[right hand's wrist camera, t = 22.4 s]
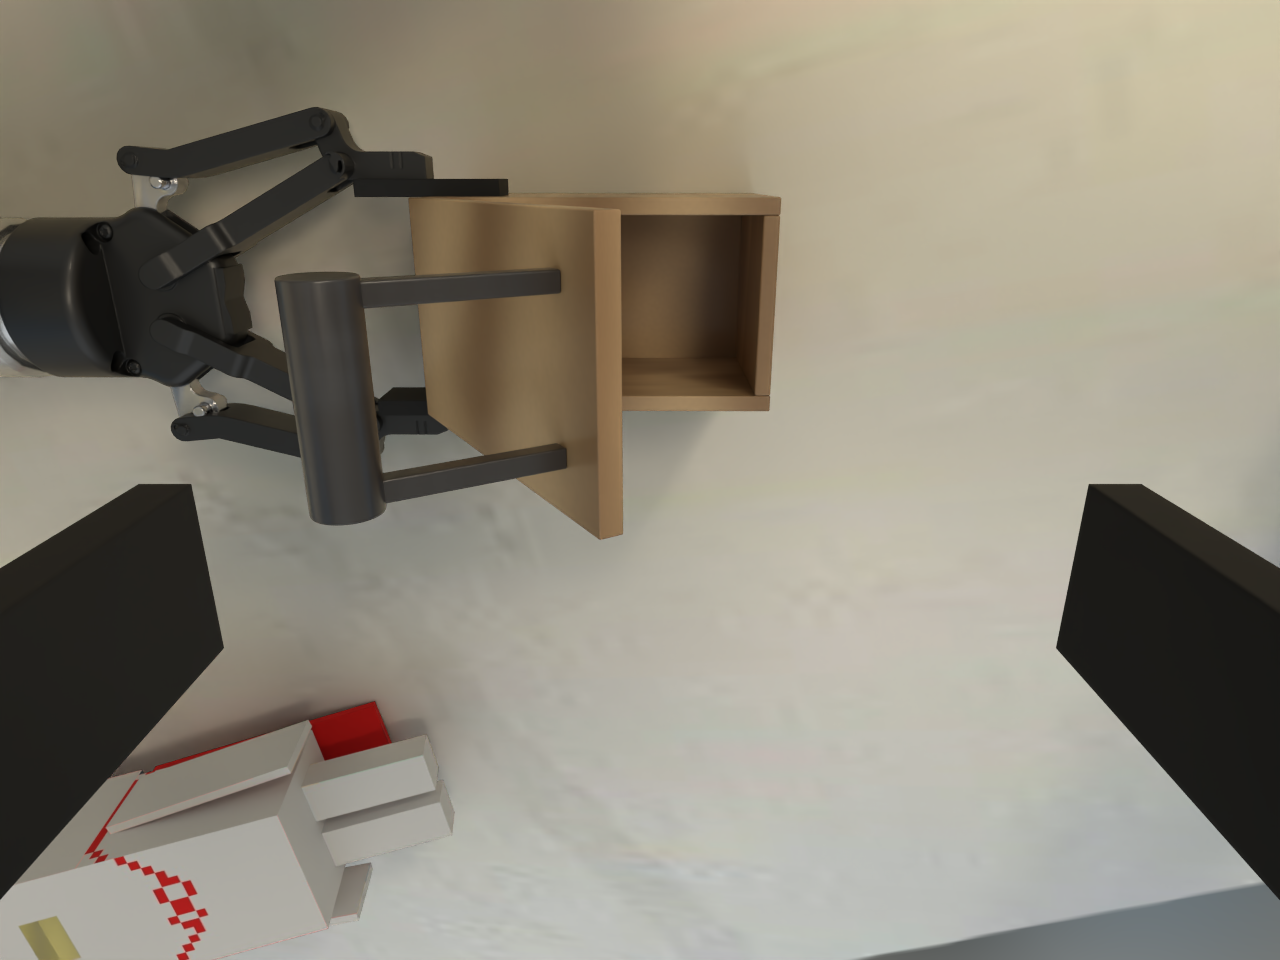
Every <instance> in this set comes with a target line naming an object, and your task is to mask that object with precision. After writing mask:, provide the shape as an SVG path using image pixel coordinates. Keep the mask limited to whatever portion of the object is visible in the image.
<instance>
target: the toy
mask: <svg viewBox="0 0 1280 960" xmlns="http://www.w3.org/2000/svg"><path fill="white" fill-rule="evenodd" d="M438 770H439V767H438V764H437V762H436V759H435V756H434V753H433V750H432V748H431V745H430V742H429V739H428V736H427V734H425V735H421V736H418V737H414V738H410V739H406V740H402V741H398V742H395V743H392V742H391V740H390V737H389V735H388V732H387V730H386V727H385V725H384V723H383V720H382V718H381V715H380V713H379V710H378V708H377V705H376V703H375V701H374V702H371V703H368V704H364V705H361V706H358V707H354V708H351V709H347V710H344V711H341V712H337V713H334V714H331V715H327V716H324V717H320V718H317V719H314V720H310V721H309V720H306V721H303V722H300V723H297V724H294V725H291V726H289V727H286V728H283V729H280V730H277V731H273V732H270V733H266V734H263V735H260V736H256V737H253V738H250V739H246V740H243V741H240V742H236V743H233V744H229V745H226V746H223V747H219V748H216V749H213V750H209V751H206V752H202V753H199V754H196V755H192V756H189V757H186V758H182V759H179V760H175V761H172V762H169V763H165V764H162V765H159V766H156V767H155V768H154V770H153V771H152V772H148V773H144V772H143V770H139V771H135V772H131V773H127V774H124V775H120V776H116V777H112V778H108V779H107V780H106V781H105V783H104V784H103V785H102V786H101V787H100V788H99V789H98V790H97V792H96V793H95V794H94V795H93V796H92V797H91V798H90V799H89V801H88V802H87V803H86V804H85V805H84V806H83V807H82V808H81V810H80V811H79V812H78V813H77V814H76V815H75V816H74V817H73V819H72V820H71V821H70V822H69V823H68V824H67V825H66V826H65V828H64V829H63V830H62V831H61V832H60V833H59V834H58V836H57V837H56V838H55V839H54V840H53V841H52V842H51V843H50V845H49V846H48V847H47V848H46V849H45V850H44V851H43V852H42V854H41V855H40V856H39V857H38V858H37V859H36V860H35V861H34V863H33V864H32V865H31V866H30V867H29V868H28V869H27V870H26V872H25V873H24V874H23V875H22V876H21V877H20V878H19V879H18V881H17V882H16V883H15V884H14V885H13V886H12V887H11V888H10V890H9V891H8V892H7V893H6V894H5V895H4V896H3V897H2V899H1V900H0V960H215V959H219V958H223V957H226V956H230V955H233V954H237V953H241V952H244V951H248V950H252V949H255V948H259V947H263V946H266V945H270V944H274V943H277V942H281V941H284V940H288V939H292V938H295V937H299V936H303V935H306V934H310V933H314V932H317V931H321V930H325V929H328V928H329V926H332V925H337V924H342V923H348V922H353V921H358V920H359V918H360V914H361V911H362V907H363V903H364V900H365V896H366V892H367V889H368V885H369V881H370V878H371V874H372V870H373V868H372V864H371V863H366V864H361V865H355V866H350V867H345V865H346V864H347V863H351V862H355V861H358V860H362V859H366V858H369V857H373V856H377V855H381V854H384V853H388V852H392V851H395V850H399V849H403V848H406V847H410V846H414V845H418V844H421V843H425V842H429V841H432V840H436V839H440V838H444V837H447V836H451V835H452V830H453V821H454V813H455V812H454V809H453V806H452V804H451V801H450V798H449V795H448V792H447V790H446V787H445V784H444V781H443V780H440V781H437V776H438Z"/></svg>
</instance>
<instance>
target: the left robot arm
mask: <svg viewBox="0 0 1280 960" xmlns="http://www.w3.org/2000/svg"><path fill="white" fill-rule="evenodd" d="M315 146H318V148H319V150H320V152H321V154H322V156H323V157H322V158H320V159H319V160H317V161H316V162H314V163H312V164H311V165H309V166H307V167H306V168H304V169H303V170H301V171H299V172H298V173H296V174H295V175H293V176H291V177H290V178H288V179H286V180H285V181H283V182H282V183H280V184H278V185H277V186H275V187H274V188H272V189H270V190H269V191H267V192H266V193H264V194H262V195H261V196H259V197H257V198H256V199H254V200H253V201H251V202H249V203H248V204H246V205H245V206H243V207H241V208H240V209H238V210H236V211H235V212H233V213H232V214H230V215H228V216H227V217H225V218H224V219H222V220H220V221H218V222H216V223H214V224H211V225H209V226H207V227H205V228H203V229H201V230H198V229H197V228H195V227H194V226H192V225H191V224H189V223H188V222H186V221H185V220H183V219H182V218H180V217H179V216H177V215H176V214H174V213H173V212H171V211H170V210H168V209H167V203H168V201H169V199H170V198H171V197H173V196H177V195H181V194H183V193H184V192H185V191H186V190H187V187H188V185H189V181H188V178H202V177H209V176H214V175H218V174H221V173H224V172H228V171H231V170H235V169H238V168H242V167H245V166H249V165H252V164H256V163H259V162H263V161H266V160H270V159H273V158H277V157H280V156H284V155H287V154H290V153H294V152H297V151H301V150H304V149H308V148H311V147H315ZM117 162H118V165H119V166H120V168H121V169H122V170H123V171H124V172H126V173H128V174H131V175H132V183H133V193H134V202H135V208H133V209H131V210H129V211H128V212H126V213H125V214H123V215H121V216H119V217H115V218H33V219H30V220H26V219H23V218H0V377H46V376H52V375H55V376H59V377H145V378H149V379H153V380H155V381H157V382H159V383H161V384H163V385H166V386H169V387H171V391H172V394H173V397H174V401H175V404H176V407H177V411H178V414H179V418H177V419H175V420H174V421H173V422H172V424H171V431H172V433H173V435H174V436H175V437H176V438H177V439H179V440H181V441H195V440H205V439H216V438H221V439H225V440H229V441H233V442H238V443H242V444H246V445H250V446H254V447H259V448H263V449H267V450H271V451H275V452H280V453H284V454H288V455H292V456H297V457H301V454H300V447H299V440H298V434H297V427H296V420H295V416H294V415H290V414H286V413H282V412H278V411H274V410H269V409H265V408H261V407H257V406H253V405H247V404H240V403H227V399H226V397H225V396H223V395H220V394H218V393H214V392H209V391H207V390H205V389H204V388H203V387H202V386H201V385H200V383H199V379H200V378H202V377H203V376H204V375H205V374H207V373H208V372H209V371H210V370H212V369H213V368H215V369H217V370H219V371H221V372H223V373H225V374H227V375H230V376H232V377H236V378H244V379H247V380H249V381H251V382H254V383H256V384H258V385H260V386H262V387H264V388H266V389H268V390H270V391H272V392H274V393H276V394H278V395H280V396H282V397H285V398H287V399H289V400H291V401H293V400H292V394H291V387H290V380H289V374H288V367H287V360H286V354H285V352H283V351H281V350H279V349H277V348H275V347H274V346H273V344H272V343H271V342H270V341H268V340H266V339H264V338H262V337H260V336H258V335H256V334H254V333H252V332H250V331H248V329H250V328H252V321H251V315H250V311H249V309H248V306H247V304H246V302H245V299H244V297H243V293H244V283H245V278H244V272H243V265H242V264H237V262H236V260H235V258H236V257H237V256H239V255H241V254H242V253H244V252H245V251H247V250H249V249H250V248H252V247H254V246H255V245H256V244H257V243H258V242H259V241H260V240H262V239H264V238H265V237H267V236H268V235H270V234H272V233H273V232H275V231H277V230H278V229H280V228H282V227H283V226H285V225H287V224H288V223H290V222H291V221H293V220H295V219H296V218H298V217H300V216H301V215H303V214H305V213H306V212H308V211H310V210H311V209H313V208H314V207H316V206H318V205H319V204H321V203H323V202H324V201H326V200H328V199H329V198H331V197H333V196H334V195H336V194H337V193H339V192H341V191H342V190H344V189H346V188H347V187H349V186H351V185H352V184H353V186H354V195H355V197H430V196H506V195H509V193H508V179H434V175H433V162H432V157H430V156H428V155H426V154H423V153H420V152H365V151H363V150H361V149H360V148H359V147H358V146H357V145H356V144H355V142H354V141H353V138H352V136H351V134H350V132H349V123H348V120H347V118H346V117H345V116H344V115H343V114H342V113H339V112H337V111H332V110H328V109H324V108H319V107H312V108H308V109H305V110H302V111H298V112H295V113H291V114H288V115H284V116H281V117H278V118H274V119H271V120H267V121H264V122H261V123H257V124H254V125H250V126H247V127H243V128H240V129H237V130H233V131H230V132H226V133H223V134H219V135H216V136H213V137H209V138H206V139H202V140H199V141H196V142H192V143H189V144H185V145H182V146H178V147H175V148H172V149H165V148H153V147H138V146H124V147H122V148H121V149H119V151H118V153H117ZM374 401H375V410H376V419H377V428H378V436H379V445H380V454H381V453H382V452H383V450H384V441H385V437H386V435H390V434H440V433H442V432H445V431H447V430H448V428H446V427H445V426H444V425H442V424H441V423H440V422H438V421H437V420H435V419H434V418H433V417H431V416H430V415H429V414H428V407H427V396H426V388H399V387H393V388H392V389H391V390H390V391H388V392H387V393H386V394H385V395H384V396H382V397H381V398H380V399H378V398H376V397H374Z"/></svg>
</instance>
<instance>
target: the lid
mask: <svg viewBox="0 0 1280 960" xmlns="http://www.w3.org/2000/svg"><path fill="white" fill-rule="evenodd" d="M408 200H409V211H410V222H411V233H412V243H413V254H414V265H415V275H410V276H393V277H376V278H360V276H359V275H358V274H356V273H349V272H308V273H295V274H287V275H282V276H278V277H276V278H275V287H276V293H277V300H278V307H279V313H280V320H281V327H282V333H283V340H284V347H285V354H286V360H287V367H288V374H289V380H290V387H291V394H292V400H293V407H294V414H295V420H296V427H297V434H298V440H299V447H300V454H301V461H302V467H303V474H304V481H305V487H306V494H307V501H308V507H309V514H310V517H311V519H312V520H313V521H315V522H317V523H320V524H324V525H350V524H357V523H361V522H365V521H368V520H371V519H374V518H376V517H378V516H379V515H381V514H382V513H383V512H384V511H385V509H386V503H390V502H395V501H401V500H406V499H411V498H416V497H421V496H427V495H432V494H437V493H442V492H447V491H453V490H458V489H463V488H468V487H473V486H479V485H484V484H489V483H494V482H499V481H505V480H510V479H515V478H516V479H517V480H519V481H520V482H521V483H523V484H524V485H526V486H527V487H528V488H530V489H531V490H532V491H534V492H535V493H536V494H538V495H539V496H541V497H542V498H543V499H545V500H546V501H547V502H549V503H550V504H551V505H553V506H554V507H556V508H557V509H558V510H560V511H561V512H562V513H564V514H565V515H567V516H568V517H569V518H571V519H572V520H573V521H575V522H576V523H577V524H579V525H580V526H582V527H583V528H584V529H586V530H587V531H588V532H590V533H591V534H592V535H594V536H595V537H597V538H598V539H600V540H602V539H606V538H610V537H614V536H618V535H622V534H623V467H622V330H621V211H620V210H619V209H608V208H592V207H575V206H559V205H543V204H527V203H511V202H494V201H478V200H462V199H446V198H430V197H410V198H409V199H408ZM416 304H418V309H419V320H420V331H421V342H422V353H423V364H424V375H425V386H426V396H427V407H428V414H429V415H430V416H431V417H433V418H434V419H435V420H437V421H438V422H440V423H441V424H442V425H444V426H445V427H446V428H448V429H449V430H450V431H452V432H453V433H455V434H456V435H457V436H459V437H460V438H461V439H463V440H464V441H465V442H467V443H468V444H470V445H471V446H472V447H474V448H475V449H476V450H478V451H479V452H480V453H482V454H483V455H485V456H479V457H473V458H467V459H462V460H456V461H450V462H444V463H439V464H433V465H427V466H422V467H416V468H410V469H404V470H399V471H393V472H387V473H383V471H382V463H381V454H380V445H379V436H378V428H377V419H376V410H375V401H374V393H373V384H372V375H371V366H370V358H369V349H368V340H367V331H366V322H365V314H364V308H376V307H390V306H403V305H416Z"/></svg>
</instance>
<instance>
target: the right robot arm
mask: <svg viewBox="0 0 1280 960" xmlns="http://www.w3.org/2000/svg"><path fill="white" fill-rule="evenodd" d="M223 648H224V646H223V641H222V636H221V631H220V626H219V621H218V616H217V611H216V606H215V601H214V596H213V591H212V586H211V581H210V576H209V571H208V566H207V561H206V556H205V551H204V546H203V541H202V536H201V531H200V526H199V521H198V516H197V511H196V506H195V501H194V496H193V491H192V486H191V484H138V485H137V486H135V487H133V488H132V489H130V490H128V491H127V492H125V493H123V494H122V495H120V496H118V497H117V498H115V499H114V500H112V501H110V502H109V503H107V504H105V505H104V506H102V507H100V508H99V509H97V510H95V511H94V512H92V513H91V514H89V515H87V516H86V517H84V518H82V519H81V520H79V521H77V522H76V523H74V524H72V525H71V526H69V527H67V528H66V529H64V530H63V531H61V532H59V533H58V534H56V535H54V536H53V537H51V538H49V539H48V540H46V541H44V542H43V543H41V544H40V545H38V546H36V547H35V548H33V549H31V550H30V551H28V552H26V553H25V554H23V555H21V556H20V557H18V558H17V559H15V560H13V561H12V562H10V563H8V564H7V565H5V566H3V567H2V568H0V900H1V899H2V897H3V896H4V895H5V894H6V893H7V892H8V891H9V890H10V888H11V887H12V886H13V885H14V884H15V883H16V882H17V881H18V879H19V878H20V877H21V876H22V875H23V874H24V873H25V872H26V870H27V869H28V868H29V867H30V866H31V865H32V864H33V863H34V861H35V860H36V859H37V858H38V857H39V856H40V855H41V854H42V852H43V851H44V850H45V849H46V848H47V847H48V846H49V845H50V843H51V842H52V841H53V840H54V839H55V838H56V837H57V836H58V834H59V833H60V832H61V831H62V830H63V829H64V828H65V826H66V825H67V824H68V823H69V822H70V821H71V820H72V819H73V817H74V816H75V815H76V814H77V813H78V812H79V811H80V810H81V808H82V807H83V806H84V805H85V804H86V803H87V802H88V801H89V799H90V798H91V797H92V796H93V795H94V794H95V793H96V792H97V790H98V789H99V788H100V787H101V786H102V785H103V784H104V783H105V781H106V780H107V779H108V778H109V777H110V776H111V775H112V774H113V772H114V771H115V770H116V769H117V768H118V767H119V766H120V765H121V763H122V762H123V761H124V760H125V759H126V758H127V757H128V756H129V754H130V753H131V752H132V751H133V750H134V749H135V748H136V747H137V745H138V744H139V743H140V742H141V741H142V740H143V739H144V737H145V736H146V735H147V734H148V733H149V732H150V731H151V730H152V728H153V727H154V726H155V725H156V724H157V723H158V722H159V721H160V719H161V718H162V717H163V716H164V715H165V714H166V713H167V712H168V710H169V709H170V708H171V707H172V706H173V705H174V704H175V703H176V701H177V700H178V699H179V698H180V697H181V696H182V695H183V694H184V692H185V691H186V690H187V689H188V688H189V687H190V686H191V685H192V683H193V682H194V681H195V680H196V679H197V678H198V677H199V676H200V674H201V673H202V672H203V671H204V670H205V669H206V668H207V667H208V665H209V664H210V663H211V662H212V661H213V660H214V659H215V657H216V656H217V655H218V654H219V653H220V652H221V651H222V650H223ZM1056 648H1057V650H1058V651H1059V652H1060V653H1061V654H1062V655H1063V656H1064V657H1065V659H1066V660H1067V661H1068V662H1069V663H1070V664H1071V665H1072V667H1073V668H1074V669H1075V670H1076V671H1077V672H1078V673H1079V674H1080V676H1081V677H1082V678H1083V679H1084V680H1085V681H1086V682H1087V683H1088V685H1089V686H1090V687H1091V688H1092V689H1093V690H1094V691H1095V692H1096V694H1097V695H1098V696H1099V697H1100V698H1101V699H1102V700H1103V701H1104V703H1105V704H1106V705H1107V706H1108V707H1109V708H1110V709H1111V710H1112V712H1113V713H1114V714H1115V715H1116V716H1117V717H1118V718H1119V719H1120V721H1121V722H1122V723H1123V724H1124V725H1125V726H1126V727H1127V728H1128V730H1129V731H1130V732H1131V733H1132V734H1133V735H1134V736H1135V737H1136V739H1137V740H1138V741H1139V742H1140V743H1141V744H1142V745H1143V747H1144V748H1145V749H1146V750H1147V751H1148V752H1149V753H1150V754H1151V756H1152V757H1153V758H1154V759H1155V760H1156V761H1157V762H1158V763H1159V765H1160V766H1161V767H1162V768H1163V769H1164V770H1165V771H1166V772H1167V774H1168V775H1169V776H1170V777H1171V778H1172V779H1173V780H1174V781H1175V783H1176V784H1177V785H1178V786H1179V787H1180V788H1181V789H1182V790H1183V792H1184V793H1185V794H1186V795H1187V796H1188V797H1189V798H1190V799H1191V801H1192V802H1193V803H1194V804H1195V805H1196V806H1197V807H1198V808H1199V810H1200V811H1201V812H1202V813H1203V814H1204V815H1205V816H1206V817H1207V819H1208V820H1209V821H1210V822H1211V823H1212V824H1213V825H1214V826H1215V828H1216V829H1217V830H1218V831H1219V832H1220V833H1221V834H1222V836H1223V837H1224V838H1225V839H1226V840H1227V841H1228V842H1229V843H1230V845H1231V846H1232V847H1233V848H1234V849H1235V850H1236V851H1237V852H1238V854H1239V855H1240V856H1241V857H1242V858H1243V859H1244V860H1245V861H1246V863H1247V864H1248V865H1249V866H1250V867H1251V868H1252V869H1253V870H1254V872H1255V873H1256V874H1257V875H1258V876H1259V877H1260V878H1261V879H1262V881H1263V882H1264V883H1265V884H1266V885H1267V886H1268V887H1269V888H1270V890H1271V891H1272V892H1273V893H1274V894H1275V895H1276V896H1277V897H1278V899H1279V900H1280V568H1278V567H1277V566H1275V565H1273V564H1272V563H1270V562H1268V561H1267V560H1265V559H1263V558H1262V557H1260V556H1259V555H1257V554H1255V553H1254V552H1252V551H1250V550H1249V549H1247V548H1245V547H1244V546H1242V545H1240V544H1239V543H1237V542H1236V541H1234V540H1232V539H1231V538H1229V537H1227V536H1226V535H1224V534H1222V533H1221V532H1219V531H1217V530H1216V529H1214V528H1213V527H1211V526H1209V525H1208V524H1206V523H1204V522H1203V521H1201V520H1199V519H1198V518H1196V517H1194V516H1193V515H1191V514H1189V513H1188V512H1186V511H1185V510H1183V509H1181V508H1180V507H1178V506H1176V505H1175V504H1173V503H1171V502H1170V501H1168V500H1166V499H1165V498H1163V497H1162V496H1160V495H1158V494H1157V493H1155V492H1153V491H1152V490H1150V489H1148V488H1147V487H1145V486H1143V485H1142V484H1089V486H1088V491H1087V496H1086V501H1085V506H1084V511H1083V516H1082V521H1081V526H1080V531H1079V536H1078V541H1077V546H1076V551H1075V556H1074V561H1073V566H1072V571H1071V576H1070V581H1069V586H1068V591H1067V596H1066V601H1065V606H1064V611H1063V616H1062V621H1061V626H1060V631H1059V636H1058V641H1057V646H1056Z"/></svg>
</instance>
